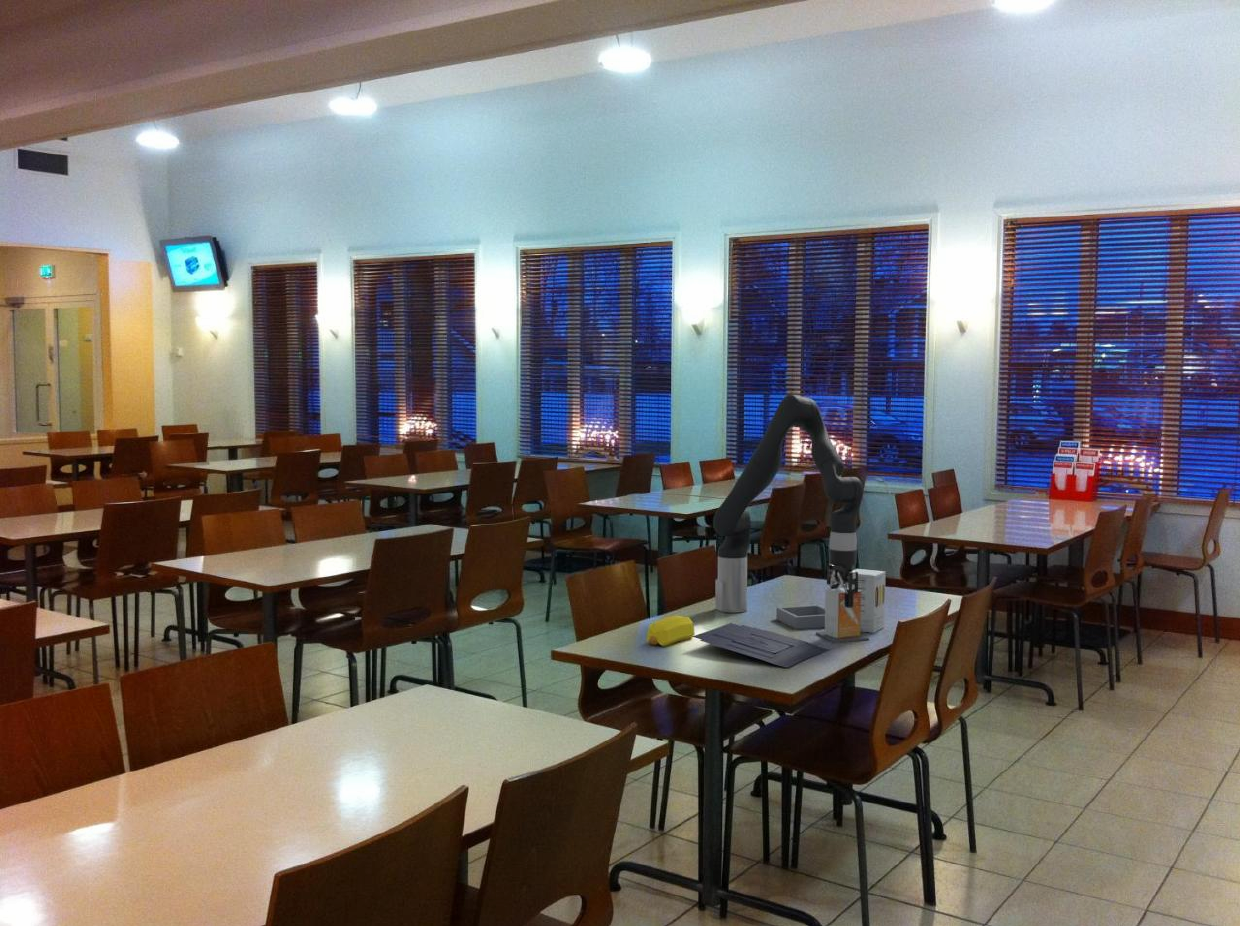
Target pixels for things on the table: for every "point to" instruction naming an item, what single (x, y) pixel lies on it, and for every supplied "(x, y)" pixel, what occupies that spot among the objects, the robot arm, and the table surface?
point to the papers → (760, 644)
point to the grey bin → (802, 616)
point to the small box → (842, 614)
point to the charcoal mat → (845, 639)
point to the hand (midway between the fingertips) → (841, 604)
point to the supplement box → (871, 599)
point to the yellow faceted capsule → (670, 630)
